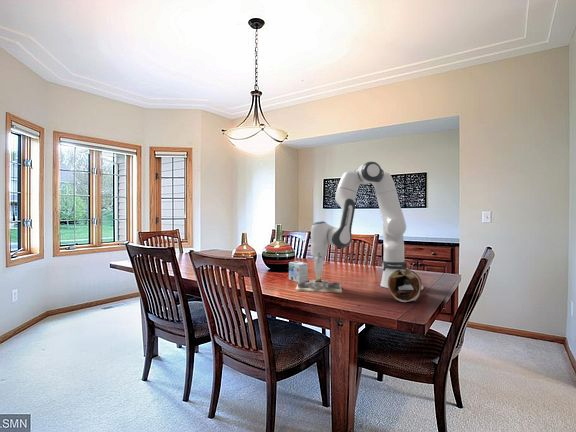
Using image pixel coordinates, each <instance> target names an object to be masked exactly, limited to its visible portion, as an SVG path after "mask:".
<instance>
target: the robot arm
mask: <svg viewBox="0 0 576 432" xmlns="http://www.w3.org/2000/svg"><path fill="white" fill-rule="evenodd" d="M369 184H371V185H372V186H373V188H374V191H375V196H376V200H377V204H378V208H379V212H380V214H381V218H382V219H381V220H382V241H383V243H382V244H383V260H382V264H381V265H382V267H381V269H382V276H381V281H380V285H379V286H380V287H382V288H385V289H389V288H388V279H389V276H390V275H391V274H392V273H393V272H394V271H396V270H399V269H409V267H411V264H410V262H407V261H406V260H405V242H404V241H405V240H404V234H405V233H406V231H407V224H406V220H405V216H404V214H403V213H404V212H403V210H402V207H401V204H400V200H399V196H398V192H397V187H396V184H395V181H394V179H393V177H392V174H390V173H389V172H385V171H384V170H383V169H382V167H381V165H380V164H379V163H377V162H376V161H367V162H365V163H363V164H361V165H360V166H359V167H358V168H356V169H355V170H354V171H353V170H349V171H348V170H347V171H344V172H343V173H342V175H341V177H340V179H339V182H338V184H337V188H336V190H335V191H336V192H335V195H334V197H335V202H336V204H337V205H338V206H339V207H340V208H341V216H340V221H339V225H338V227H335V226H332V225H330V224H328V222H326V221H324V220H322V221H316V222H313V224H312V225H311V228H310V240H311V244H310V256H312V259H314V272H315V273H316V272H317V279H320V275H321V272H323V266H324V261H325V260H324V259H326V256H328V245H330V246H334V247H337V248H338V249H339V248H340V249H345V248H347V247H349V245H350V244H351V242H352V241H353V240H352V239H353V237H352V228H353V227H352V226H353V222H354V216H355V210H356V197H357V194H358V191H359V187H360V186H366V185H369ZM398 289H399V291H413V290H414V289H413V287H412V285H411V284H410V285H403V286H402V287H401V286H400V287H398ZM423 289H424V285H422V286H421V290H423Z"/></svg>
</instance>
